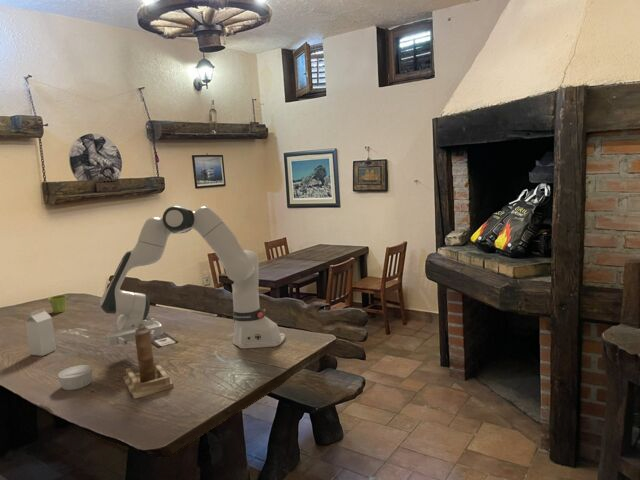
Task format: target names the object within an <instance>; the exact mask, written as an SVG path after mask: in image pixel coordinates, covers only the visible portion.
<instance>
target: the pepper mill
mask: <svg viewBox="0 0 640 480" xmlns="http://www.w3.org/2000/svg"><path fill="white" fill-rule="evenodd" d="M135 332H136V334H135V340H136V341H135V345H136V346H135V348H136V355H137V357H136V358H137V363H138V373H139V374H140V382H142V383H144V382H148V381H151V380H155V371H154V362H155V361H154V354H153V347H152V345H153V344H152V343H151V336H150V332H149V328H147V327H145V325H144V324H140V325H139V326H138V329H136V330H135Z"/></svg>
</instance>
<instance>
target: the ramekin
mask: <svg viewBox="0 0 640 480" xmlns="http://www.w3.org/2000/svg"><path fill="white" fill-rule="evenodd" d="M92 376H93V367H92V365H89V364H79V365H74V366H71V367H67V368H65V369H63V370H60V372H59V373H58V374H57V378H58V380H59V383H60V385H61V388H62V389H64V390H65V391H75V390H79V389H83V388H84V387H87V386H88V385H90V384H91V382H92V378H93V377H92Z"/></svg>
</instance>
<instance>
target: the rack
mask: <svg viewBox="0 0 640 480" xmlns="http://www.w3.org/2000/svg"><path fill="white" fill-rule="evenodd" d="M153 362H154V371H155V380H151V381H148V382H144V383H142V382H140V374H139V372H136V373H134V372H133V371H132V369H131V368H130V367H129V368H126V369H125V373H126V374H125V376H123V381H124V383H125V385H126V386H127V389H128V391H129V392H130V394H131V395H132V397H133V399H138V398H141V397H146V396H149V395H152V394H156V393H159V392H163V391H166V390H169V389H173V388H174V387H175V385H174V382H173V381H172V380H171V378H170V376H169V375H168V374H167V372H166V371H165V370H164V368H163V367H162V366H161V365H160V364H159V362H158V361H153Z"/></svg>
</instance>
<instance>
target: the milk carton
mask: <svg viewBox="0 0 640 480" xmlns="http://www.w3.org/2000/svg"><path fill="white" fill-rule="evenodd" d="M24 323H25V329H26V335H27V343H28V349H29V355H31V356H41V357H43V356H45V355H49V354H50V353H52V352H55V351H56V350H57V345H56V340H55V339H56V337H55V332H54V325H53V317H52V316H51V315H50V314H49V313H48V312H47V311H46V309H45V307H44V308H40V309H37V310H35V311H32V312H29V316H28V317H27V318H26V320H25V321H24Z"/></svg>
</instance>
